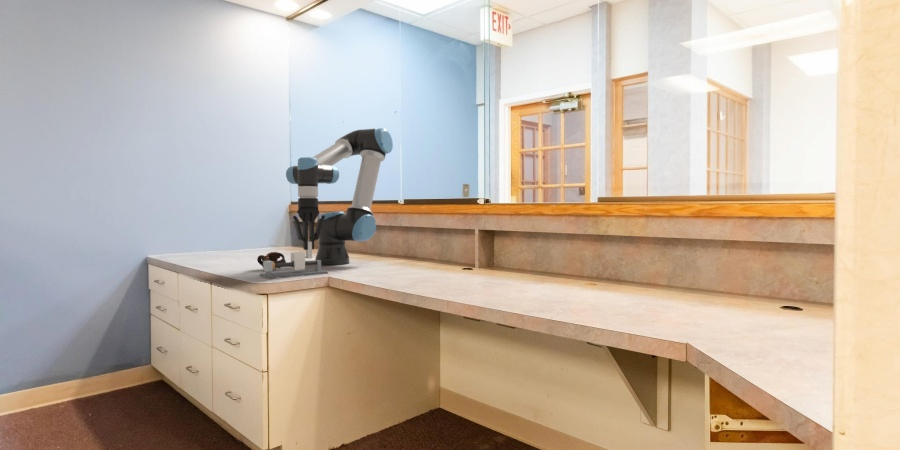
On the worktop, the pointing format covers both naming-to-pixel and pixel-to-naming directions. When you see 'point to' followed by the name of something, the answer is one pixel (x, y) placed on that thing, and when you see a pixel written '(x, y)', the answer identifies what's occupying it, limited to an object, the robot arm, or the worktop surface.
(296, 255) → the sleeve
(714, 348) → the worktop surface
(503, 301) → the worktop surface
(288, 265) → the cord jig
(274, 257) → the pottery mug
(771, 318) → the worktop surface
